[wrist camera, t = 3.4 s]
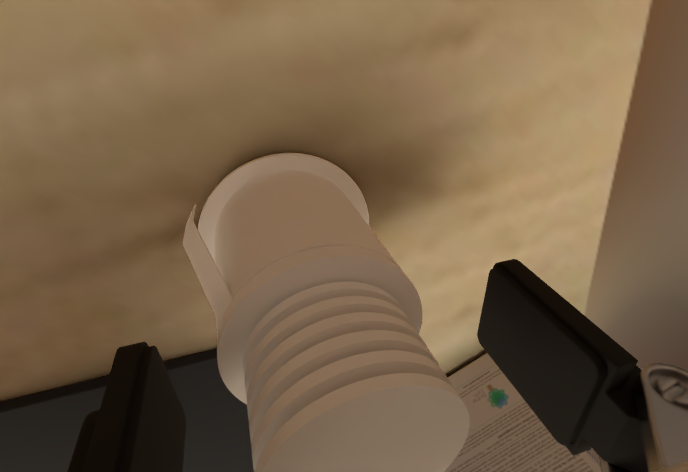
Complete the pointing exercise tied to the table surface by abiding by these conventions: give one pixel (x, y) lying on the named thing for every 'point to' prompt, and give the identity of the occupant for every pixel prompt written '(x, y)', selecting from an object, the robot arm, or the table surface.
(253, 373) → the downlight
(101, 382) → the mat
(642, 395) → the robot arm
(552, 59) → the table surface
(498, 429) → the ink cartridge box
